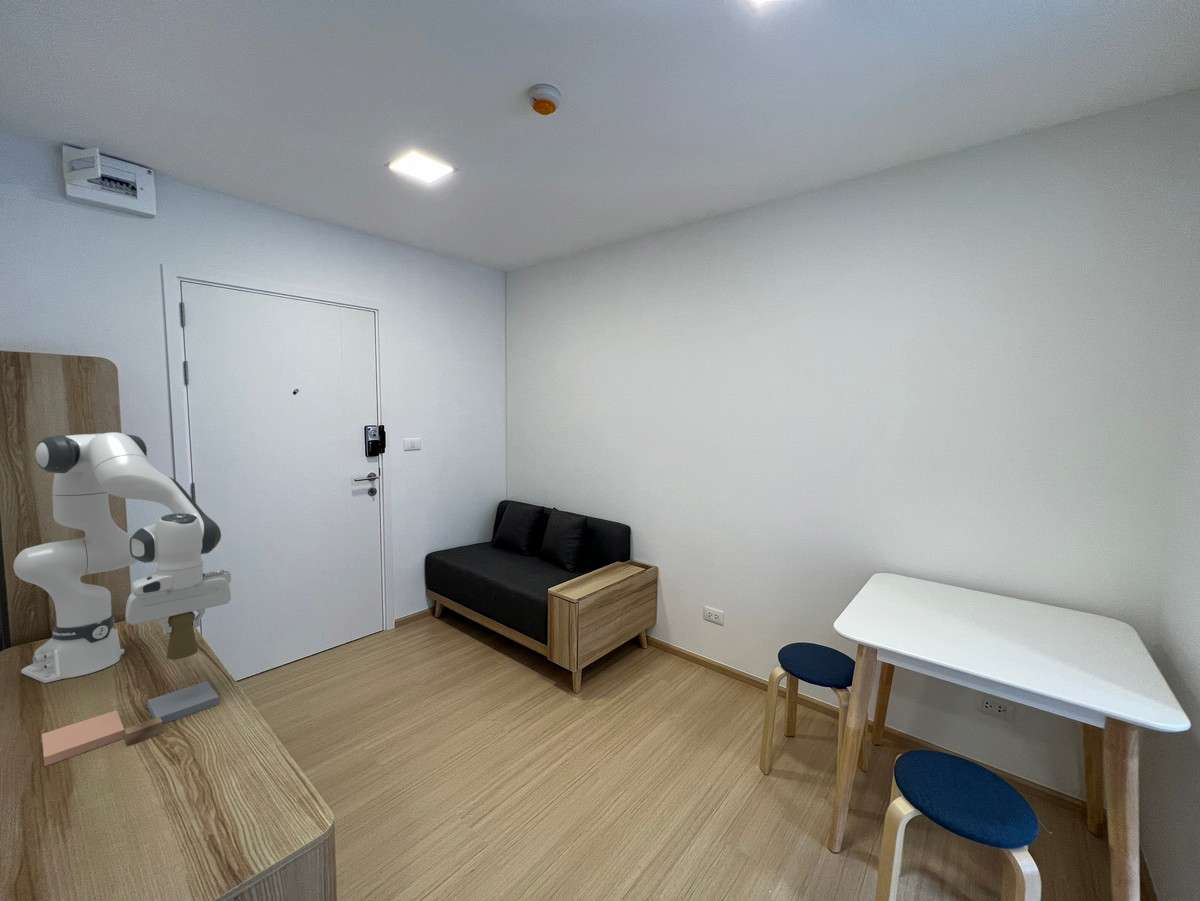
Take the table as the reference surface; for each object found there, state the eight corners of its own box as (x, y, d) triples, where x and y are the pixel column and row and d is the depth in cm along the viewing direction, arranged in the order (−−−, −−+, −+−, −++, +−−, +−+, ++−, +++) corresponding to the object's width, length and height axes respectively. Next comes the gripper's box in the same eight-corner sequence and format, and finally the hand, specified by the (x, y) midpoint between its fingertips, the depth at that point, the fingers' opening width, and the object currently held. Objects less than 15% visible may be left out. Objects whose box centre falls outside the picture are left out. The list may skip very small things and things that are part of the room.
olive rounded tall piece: (179, 660, 117) (178, 617, 117) (160, 658, 118) (159, 615, 118) (203, 649, 123) (203, 608, 123) (185, 647, 124) (184, 606, 124)
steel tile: (147, 707, 120) (147, 700, 120) (207, 687, 130) (207, 680, 130) (156, 726, 113) (156, 718, 113) (218, 704, 122) (218, 696, 122)
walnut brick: (126, 747, 106) (126, 734, 106) (125, 741, 108) (124, 729, 108) (162, 733, 111) (162, 721, 110) (160, 728, 112) (159, 716, 112)
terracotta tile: (42, 742, 107) (41, 734, 106) (117, 717, 116) (116, 709, 116) (44, 766, 99) (44, 757, 99) (124, 737, 109) (124, 729, 108)
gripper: (227, 566, 130) (228, 614, 131) (123, 584, 114) (124, 639, 115) (234, 570, 126) (234, 620, 127) (127, 590, 110) (128, 647, 111)
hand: (181, 629), depth 121 cm, fingers closed on olive rounded tall piece, 4 cm apart
